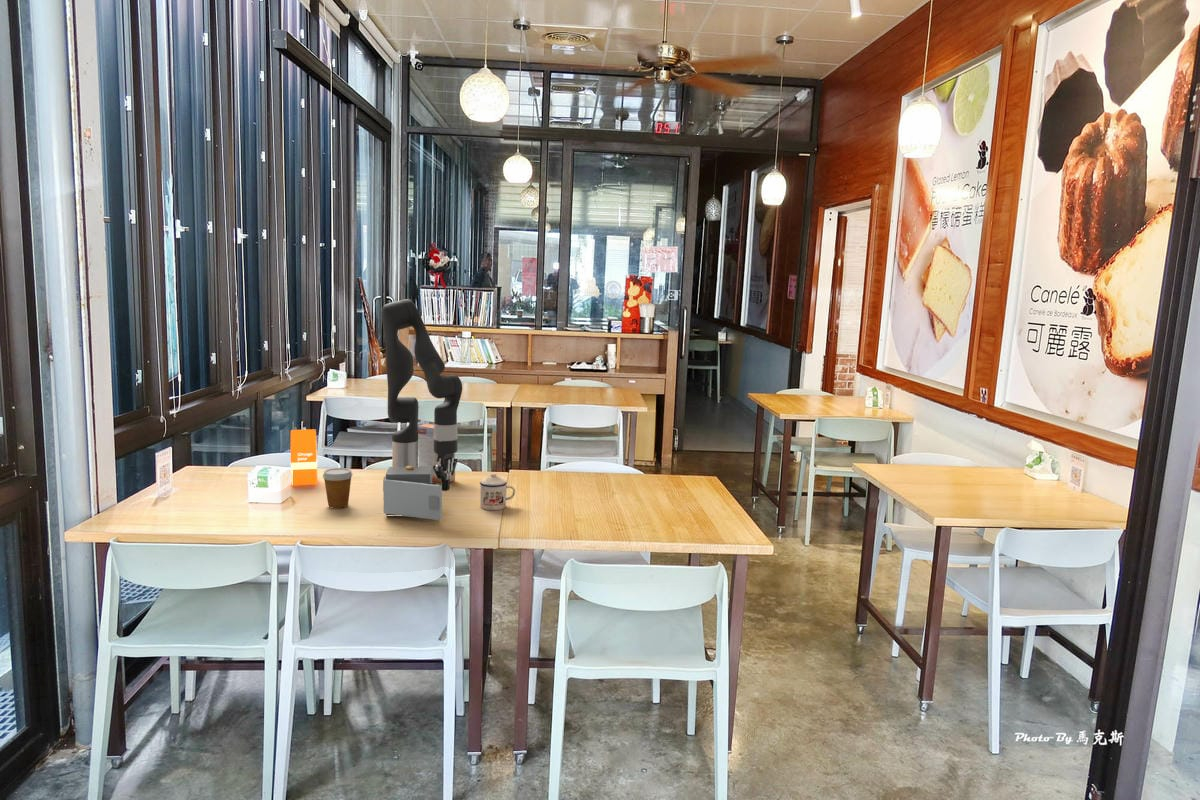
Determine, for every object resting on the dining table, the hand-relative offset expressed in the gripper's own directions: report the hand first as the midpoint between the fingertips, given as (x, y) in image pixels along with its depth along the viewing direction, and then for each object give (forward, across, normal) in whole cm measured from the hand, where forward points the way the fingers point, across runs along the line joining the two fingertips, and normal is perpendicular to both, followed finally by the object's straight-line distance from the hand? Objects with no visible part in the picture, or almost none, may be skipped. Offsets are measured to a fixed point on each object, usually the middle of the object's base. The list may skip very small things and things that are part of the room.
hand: (445, 490), depth 253 cm
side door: (+8, +7, -8) cm, 13 cm away
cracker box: (+9, -42, -25) cm, 50 cm away
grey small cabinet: (+9, -2, -14) cm, 17 cm away
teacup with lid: (+10, -18, +10) cm, 23 cm away
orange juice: (+9, -20, -68) cm, 71 cm away
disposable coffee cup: (+10, +1, -39) cm, 41 cm away
